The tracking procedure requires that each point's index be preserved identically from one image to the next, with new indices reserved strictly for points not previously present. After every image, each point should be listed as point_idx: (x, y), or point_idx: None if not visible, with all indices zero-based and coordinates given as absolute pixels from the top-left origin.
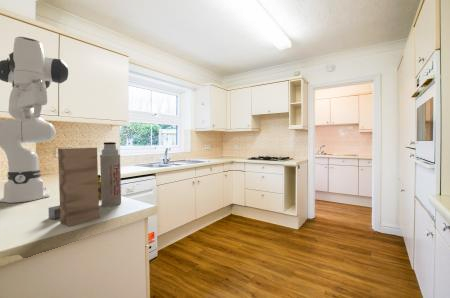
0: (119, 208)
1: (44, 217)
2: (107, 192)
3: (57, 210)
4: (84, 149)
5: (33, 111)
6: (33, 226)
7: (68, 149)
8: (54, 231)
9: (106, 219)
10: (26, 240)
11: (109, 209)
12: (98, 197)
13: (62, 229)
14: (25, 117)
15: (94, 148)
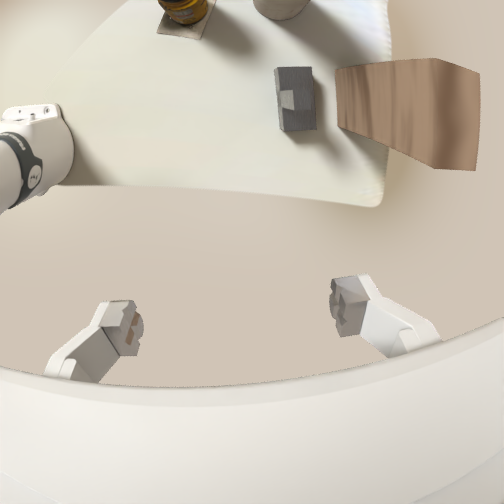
0: (338, 14)
1: (266, 132)
2: (304, 5)
3: (315, 123)
4: (476, 114)
5: (371, 341)
6: (313, 161)
7: (474, 162)
8: (372, 149)
9: None
10: (373, 185)
11: (327, 28)
12: (207, 3)
13: None
14: (140, 333)
15: (478, 82)
